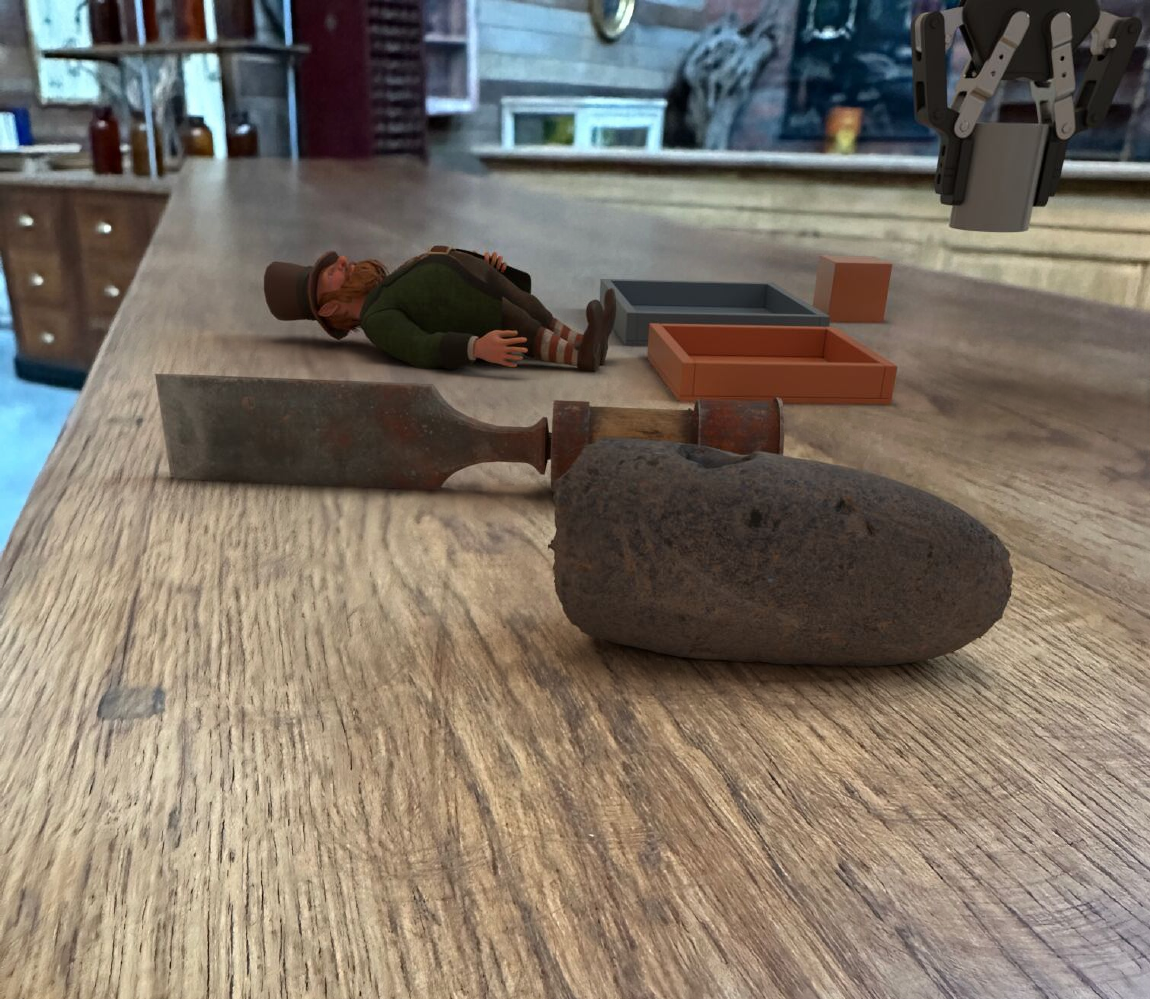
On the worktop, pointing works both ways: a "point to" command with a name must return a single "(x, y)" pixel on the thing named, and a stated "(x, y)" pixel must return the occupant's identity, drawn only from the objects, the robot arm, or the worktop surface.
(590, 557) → the perforated stone tool
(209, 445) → the chisel
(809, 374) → the terracotta tray
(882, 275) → the clay block
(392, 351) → the leprechaun
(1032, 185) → the stone cylinder
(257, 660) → the worktop surface
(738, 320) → the slate tray
